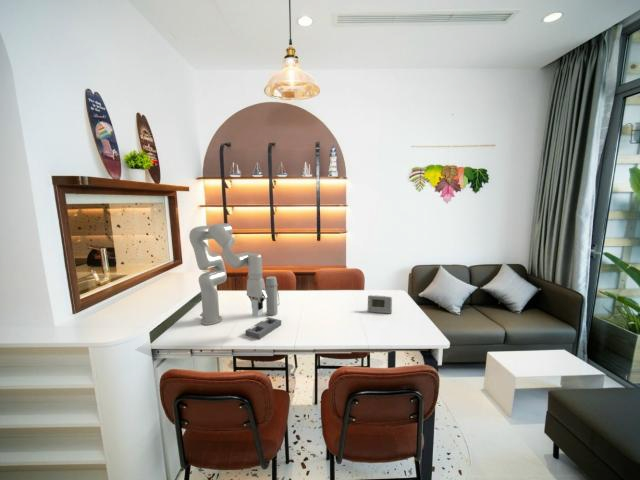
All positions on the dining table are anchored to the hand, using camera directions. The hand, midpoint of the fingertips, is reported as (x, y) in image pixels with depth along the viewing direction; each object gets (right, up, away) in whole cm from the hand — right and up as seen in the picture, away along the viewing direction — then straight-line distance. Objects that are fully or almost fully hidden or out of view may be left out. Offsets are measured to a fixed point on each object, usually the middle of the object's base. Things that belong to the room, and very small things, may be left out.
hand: (257, 307), depth 153 cm
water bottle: (+4, -12, +31) cm, 33 cm away
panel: (+2, -15, +7) cm, 16 cm away
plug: (0, -4, 0) cm, 4 cm away
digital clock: (+75, -11, +32) cm, 83 cm away
